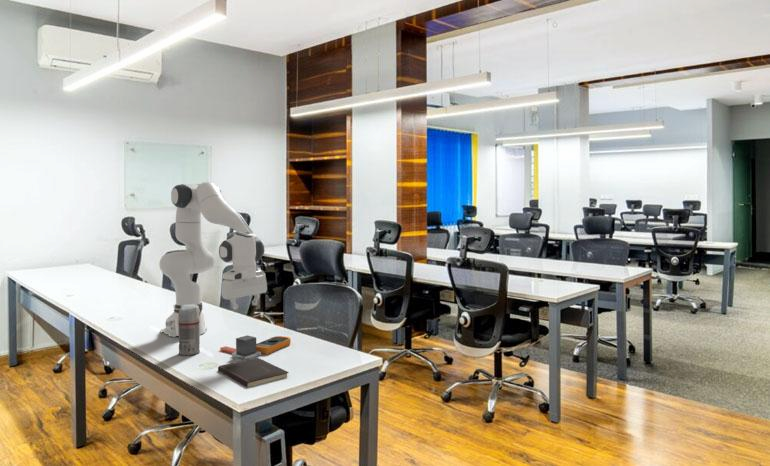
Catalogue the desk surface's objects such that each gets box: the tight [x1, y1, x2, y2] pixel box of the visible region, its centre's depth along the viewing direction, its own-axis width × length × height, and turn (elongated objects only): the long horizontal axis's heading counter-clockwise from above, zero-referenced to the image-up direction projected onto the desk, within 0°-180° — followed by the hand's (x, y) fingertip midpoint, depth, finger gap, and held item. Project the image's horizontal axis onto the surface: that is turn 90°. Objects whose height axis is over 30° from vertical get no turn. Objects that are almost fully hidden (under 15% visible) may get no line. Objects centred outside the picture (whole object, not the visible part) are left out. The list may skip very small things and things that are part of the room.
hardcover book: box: [217, 357, 289, 388], centre depth 188 cm, size 16×23×2 cm
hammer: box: [219, 346, 262, 361], centre depth 213 cm, size 19×8×5 cm, turn 54°
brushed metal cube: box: [235, 335, 257, 355], centre depth 209 cm, size 6×6×6 cm
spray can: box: [178, 304, 201, 357], centre depth 213 cm, size 8×8×20 cm
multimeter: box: [256, 335, 291, 355], centre depth 221 cm, size 9×18×3 cm, turn 156°
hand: (245, 307), depth 208 cm, fingers open, 8 cm apart
